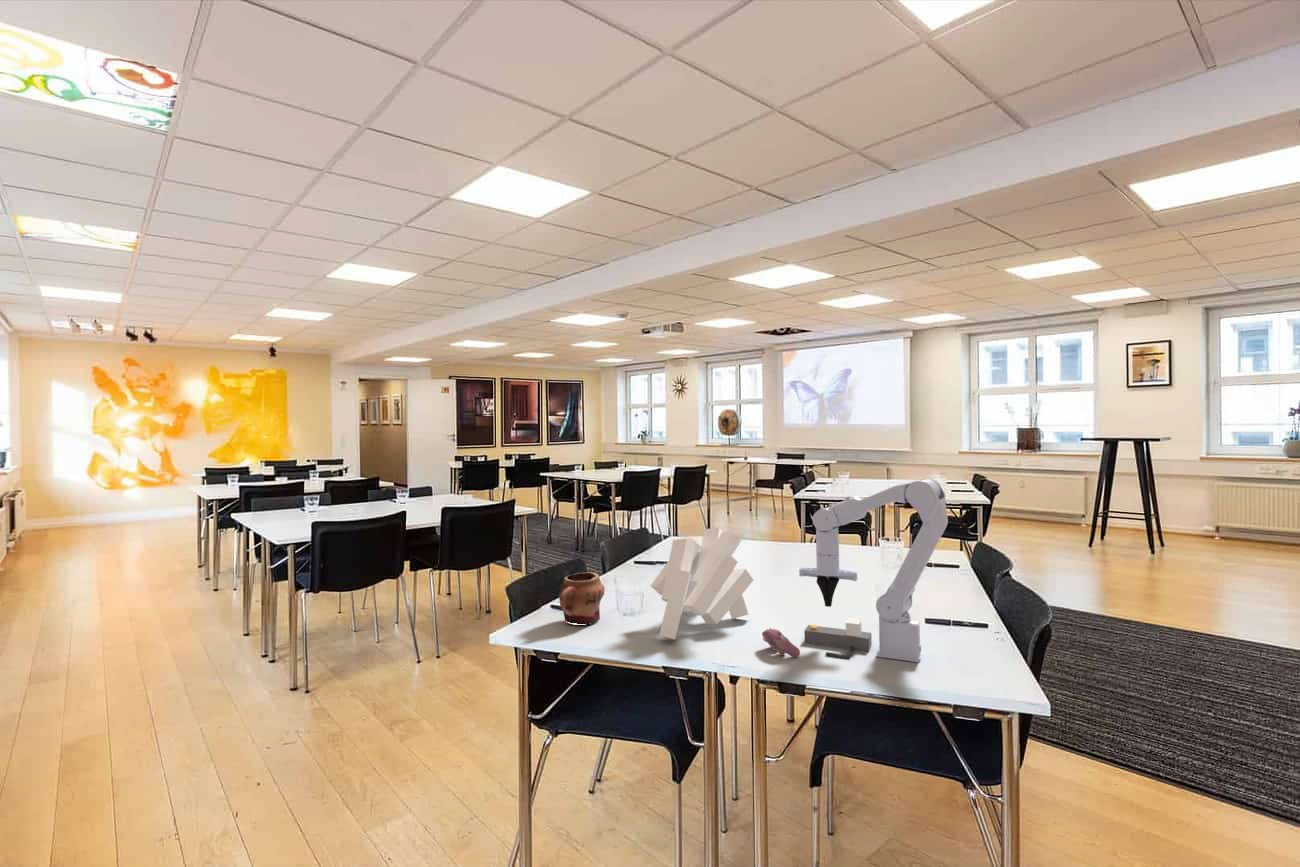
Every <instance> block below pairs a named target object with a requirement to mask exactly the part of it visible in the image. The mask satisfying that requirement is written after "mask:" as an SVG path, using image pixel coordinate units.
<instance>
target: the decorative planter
mask: <svg viewBox="0 0 1300 867" xmlns="http://www.w3.org/2000/svg"><path fill="white" fill-rule="evenodd" d="M558 594H559V595H558V599H559V606H560V608H561V610H562V612H563V617H564V621H565V622H566V621H567V622H570V623H577V624H590V623H593V622H595V623H597V622H598V621H599V620H601V616H600V615H601V613H600V604H601V601H602V599H603V598H604V595H605V585H604V583H603V582H602V581H601V578H600V575H599V574H598V573H596V572H591V571H589V572H577V573H574V574H569V575H566V576H565V577H564V579H563V582H562V585H561V587H560V590H559V593H558ZM596 621H597V622H596ZM593 624H594V623H593ZM590 625H591V624H590Z"/></svg>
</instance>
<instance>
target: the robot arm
mask: <svg viewBox="0 0 1300 867" xmlns="http://www.w3.org/2000/svg"><path fill="white" fill-rule="evenodd" d="M844 499H845V500H842V501H840V502H837V503H830V504H828V507H823V508H820V509H819V510H817V511H815V512H814V514H813V516H812V523H813V525H814V526H813V527H815V530H816V531H815V532H816V533H815V535H816V536H815V539H816V540H815V541H816V542H815V543H816V544H815V548H816V549H815V551H816V552H815V553H816V555H815V556H816V567H800V568H799V571H798V572H799V577H810V578H811V577H812V578H813V577H814V578H816V584H817V585H818V587H819V589H820V592H821V595H822V597H823V601H824V607H827V608H828V607H829V608H831V607H832V604H833V598H834V594H835V591H836V588H837V586H838V584H839V581H840V580H845V581H846V580H847V581H848V580H849V581H852V582H853V581H854V582H857V581H858V571H850V570H843V569H840V540H839V539H840V536H839V527H840V526H845V525H848V524H850V523H853V522H856V521H859V520H861V519H863V518H866V516H867V513H868V511H869V510H873V509H876V508H879V507H881V506H885V505H887V504H890V503H893V502H898V503H902V504H907V503H909V505H910V506H911V507H912V508H913V509H914V510H916V512H917V513H918V515H919V517H920V519H921V522H922V525H921V527H920V529H919V531H918V533H917V535H916V536H915V538H914V541H913V542H912V544H911V547H910V549H909V550H908V552H907V553H906V556H905V558H904V560H903V562H902V564H901V566H900V568H899V570H898V572H897V574H896V575H895V578H894V580H892V582H891V584H890V585H889V586H888V588H887V590H886V592H885V593H884V594H882V595H881V596H880V597H879V598H877V600H876V602H875V606H876V607H875V608H876V611H877V613H878V627H879V628H878V630H879V632H878V633H879V635H878V637H879V639H878V642H879V643H878V644H879V646H878V649H877V651H876V654H875V656H876V657H878V658H885V659H891V660H899V661H906V662H907V661H908V662H913V663H919V662H920V656H921V653H922V644H921V634H920V632H921V628H920V627H921V626H920V625H921V624H920V623H921V622H920V620H915V619H913V618H911V615H910V613H909V610H910V609H911V608H912V605H913V595H914V592H915V590H916V585H917V584H918V581H919V580H920V578H921V576H922V574H923V572H924V570H925V568H926V567H927V565H928V562H929V560H930V559H931V557H932V555H933V553H934V551H935V549H936V547H937V546H938V544H939V542H940V541H941V537H942V535H943V534H944V533H945V530H946V528H947V526H948V523H949V518H948V512H947V504H946V492H945V491H944V490H943V488H942V486H941V485H940V483H939V482H938V481H936V480H935V479H933V478H923V479H920V480H916V481H910V482H906V483H901V484H897V485H894V486H891V487H889V488H887V489H884V490H881V491H880V492H876V493H874V494H872V495H869V496H867V497H865V498H860V497H858V496H855V495H854V496H852V495H849V496H848V495H847V496H846V497H845V498H844Z"/></svg>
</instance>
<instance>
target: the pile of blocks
mask: <svg viewBox="0 0 1300 867" xmlns="http://www.w3.org/2000/svg"><path fill="white" fill-rule="evenodd" d="M702 535H703V536H702V540H701V545H699V543H698V542H697V541H695V539H694V538H691V537H689V538H679V539H673V540H672V544H671V549H670V554H669V558H668V560H667V562H666V564H665V565H664V566H663V567H662V569H661V570H660V572H659V573H658V575H657V576H656V578H655V579H654V580H653V581H652V583H651V585H650V587H651V588H652V589H653V590H654V591H656V592H657V593H658V595H661V598H660V599H661V600H662V601H663V602H666V604H665V605H666V606H665V609H664V613H663V614H664V615H663V617H662V618H663V619H662V623H661V625H660V630H659V633H658V634H659V636H661V637H664V638H667V639H673V640H676V639H675V638H677V635H678V630H679V627H680V626H679V625H680V621H681V617H682V614H685V615H686V616H690V617H691V616H692V617H693V616H701V618H702V619H703V621H704V622H705V623H706V624H709V625H718V624H719V622H721V620H722V619H723V618H724V617H725V615H727V613H728V612H729V614H730V618H731V620H734V619H738V618H740V617H744V616H748V615H750V614H751V613H752V612H751V611H750V608H749V604H748V602H747V598H746V595H745V593H744V592H746V590H747V589H748V587H749V586H750V585H751V584H752V583H753V582H754V579H753V577H752V576H751V575H750V573H749V572H748V570H747V569H746V568H743V569H742V568H739V569H738V568H736V566H737V564H738V563H739V562H738V560H736V559H735V558H734V557H733V554H734V553H735V551H736V549H737V548H738V547H739V545H740V543H741V542H742V539H740V538H739V537H738V536H737V535H736V534H735V533H733V532H732V531H725V532H723V531H722V528H721V527H713V528H706V529H703V534H702Z"/></svg>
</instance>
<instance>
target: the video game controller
mask: <svg viewBox="0 0 1300 867" xmlns="http://www.w3.org/2000/svg"><path fill="white" fill-rule="evenodd" d="M761 635H762V640H763V641H764V642H766V643H767V644H768V645H769V647H770V648H771V649H772V648H773V649H775V650H777V651H776V652H777V653H778V654H780V653H781V654H782V655H781V654H780V655H781V656H784V655H785V654H787V655H788V656H789V657H793V658H798V657H797V656H800V655H801V651H800V649H799V648H798V647H797V646H796V645H794V643H792V642H791V641H790V640H789V638H788V637H786V636H785V635H784V634H783V633H782V632H781V630H779V629H774V628H773V629H772V628H771V627H770V628H768V629H766V630H764V631H763V632H762V633H761ZM773 649H772V650H773ZM783 654H784V655H783Z"/></svg>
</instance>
